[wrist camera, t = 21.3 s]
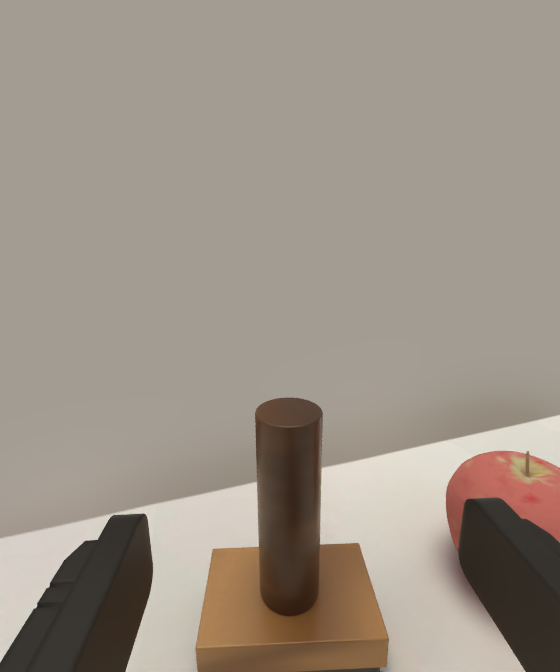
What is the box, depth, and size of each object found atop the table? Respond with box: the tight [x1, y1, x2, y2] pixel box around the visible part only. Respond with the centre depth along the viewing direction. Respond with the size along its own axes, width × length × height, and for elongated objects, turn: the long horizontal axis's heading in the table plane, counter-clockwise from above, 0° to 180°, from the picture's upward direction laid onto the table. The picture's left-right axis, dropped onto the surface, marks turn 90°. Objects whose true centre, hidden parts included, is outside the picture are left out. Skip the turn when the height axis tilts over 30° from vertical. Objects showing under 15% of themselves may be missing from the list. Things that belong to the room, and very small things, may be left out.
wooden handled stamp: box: [196, 398, 389, 672], centre depth 16 cm, size 8×5×12 cm, turn 92°
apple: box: [446, 451, 560, 550], centre depth 20 cm, size 7×7×8 cm
